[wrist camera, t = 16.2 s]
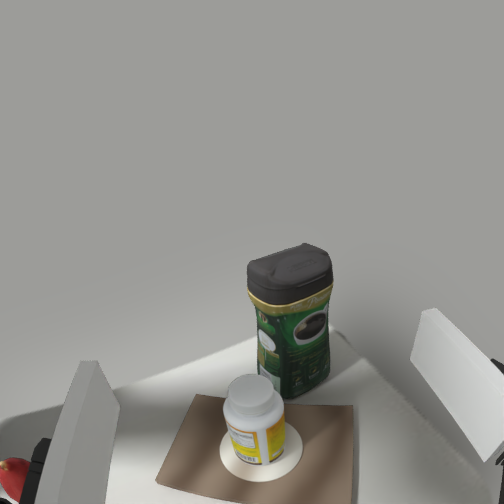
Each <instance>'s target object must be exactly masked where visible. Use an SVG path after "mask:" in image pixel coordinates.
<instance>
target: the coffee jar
mask: <svg viewBox="0 0 504 504" xmlns="http://www.w3.org/2000/svg"><path fill="white" fill-rule="evenodd" d="M247 275H248V276H247V277H248V278H247V291H248V295H249V297H250V299H251V301H252V303H253V304H254V306H255V309H256V316H257V335H258V349H257V369H258V375H262V376H264V377H266V378H268V379H269V380H270V381H271V382H272V384H273V387H274V390H275V391H277V392H278V393H279V394H280V396H281V397H282V398H285V399H288V398H293V397H296V396H298V395H300V394H302V393H304V392H306V391H308V390H310V389H312V388H313V387H315V386H316V385H318V384H319V383H320V382H322V381H323V380H324V379H325V378H326V377H327V376H328V374H329V372H330V348H329V328H328V307H329V300H330V295H331V291H332V288H333V272H332V263H331V259H330V257H329V255H328V253H327V252H326V251H324V250H322V249H320V248H317V247H315V246H313V245H310V244H307V243H303V244H302V245H300V246H296V247H293V248H289V249H285V250H283V251H280V252H277V253H274V254H271V255H268V256H265V257H262V258H259V259H256V260H252V261H250V262H249V264H248V266H247Z"/></svg>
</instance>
